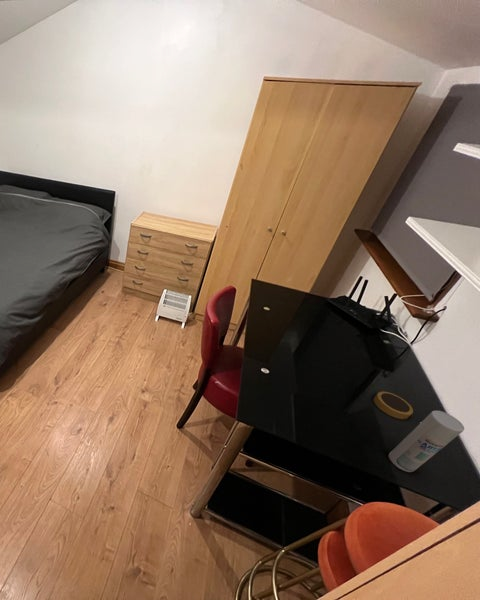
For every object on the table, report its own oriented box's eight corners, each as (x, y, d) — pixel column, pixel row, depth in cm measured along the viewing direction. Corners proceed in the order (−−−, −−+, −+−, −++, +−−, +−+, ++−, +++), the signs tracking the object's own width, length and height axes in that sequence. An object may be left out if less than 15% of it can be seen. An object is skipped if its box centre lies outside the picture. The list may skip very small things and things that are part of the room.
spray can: (408, 456, 98) (455, 414, 87) (419, 476, 93) (470, 434, 82) (383, 448, 100) (426, 407, 89) (393, 468, 95) (440, 426, 84)
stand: (414, 414, 112) (419, 409, 111) (398, 422, 109) (403, 417, 107) (383, 393, 120) (388, 388, 119) (367, 400, 117) (371, 395, 115)
